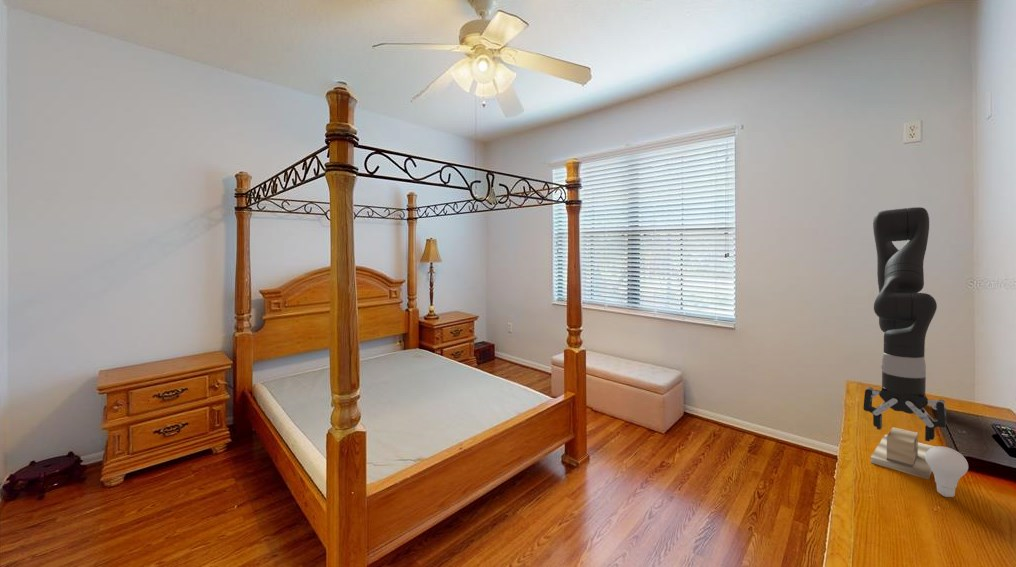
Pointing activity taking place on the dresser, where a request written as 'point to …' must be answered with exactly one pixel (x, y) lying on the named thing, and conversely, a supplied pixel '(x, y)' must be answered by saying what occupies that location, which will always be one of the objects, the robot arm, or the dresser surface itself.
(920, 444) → the board
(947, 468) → the lightbulb
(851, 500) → the dresser surface
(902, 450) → the block
